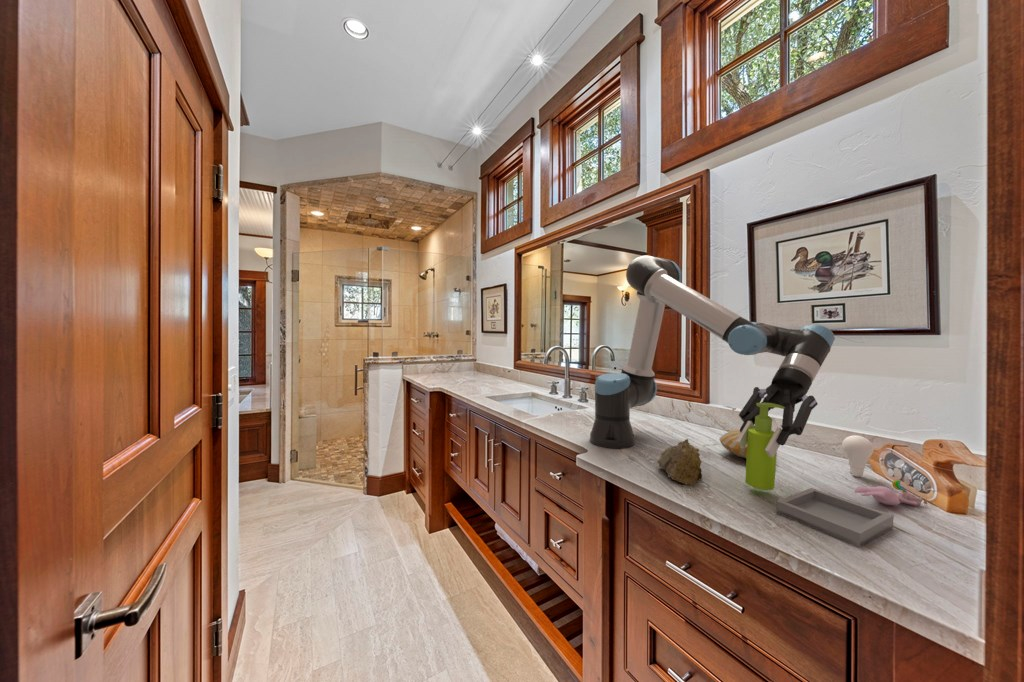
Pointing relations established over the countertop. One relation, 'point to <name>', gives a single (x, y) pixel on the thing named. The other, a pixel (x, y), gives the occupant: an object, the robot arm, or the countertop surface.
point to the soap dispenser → (761, 451)
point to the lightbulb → (857, 453)
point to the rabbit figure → (891, 495)
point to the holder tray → (836, 516)
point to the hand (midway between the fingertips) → (754, 449)
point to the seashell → (682, 463)
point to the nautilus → (733, 443)
